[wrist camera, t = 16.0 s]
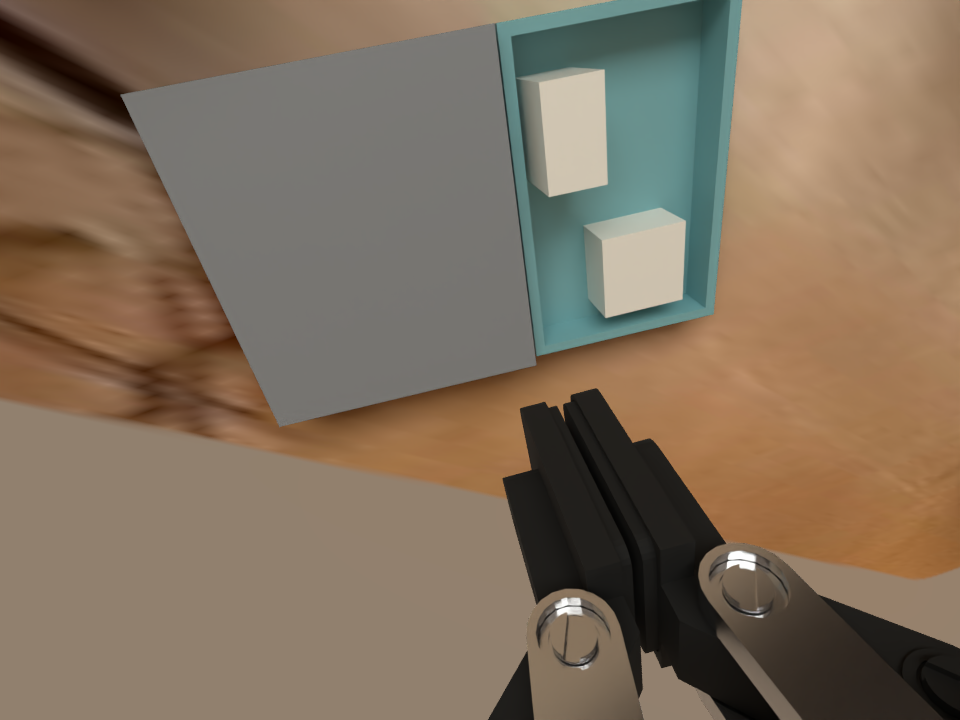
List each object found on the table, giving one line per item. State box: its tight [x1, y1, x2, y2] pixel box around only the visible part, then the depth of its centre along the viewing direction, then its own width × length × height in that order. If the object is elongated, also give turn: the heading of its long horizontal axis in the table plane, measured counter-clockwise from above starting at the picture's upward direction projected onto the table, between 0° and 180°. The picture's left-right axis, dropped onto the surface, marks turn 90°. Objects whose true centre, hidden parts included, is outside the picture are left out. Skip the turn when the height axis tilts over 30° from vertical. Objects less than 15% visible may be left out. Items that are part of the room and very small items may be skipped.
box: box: [495, 0, 742, 356], centre depth 30 cm, size 12×18×3 cm, turn 9°
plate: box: [121, 24, 536, 427], centre depth 28 cm, size 16×18×4 cm
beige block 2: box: [583, 208, 686, 318], centre depth 32 cm, size 5×5×3 cm
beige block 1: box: [516, 67, 608, 197], centre depth 26 cm, size 5×5×3 cm
